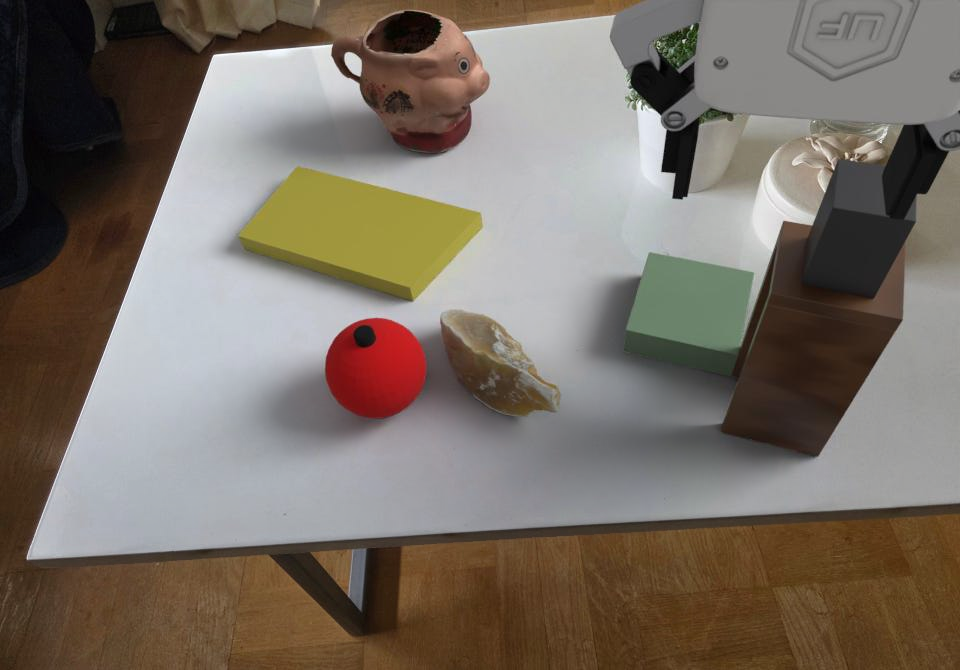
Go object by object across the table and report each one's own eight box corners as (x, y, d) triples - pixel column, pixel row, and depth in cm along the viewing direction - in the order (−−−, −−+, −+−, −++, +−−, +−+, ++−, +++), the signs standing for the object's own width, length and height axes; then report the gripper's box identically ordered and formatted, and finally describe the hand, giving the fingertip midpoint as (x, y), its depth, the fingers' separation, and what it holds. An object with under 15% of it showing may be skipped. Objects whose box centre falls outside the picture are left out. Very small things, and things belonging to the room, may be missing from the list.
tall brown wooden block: (825, 389, 65) (906, 241, 50) (818, 457, 61) (903, 319, 46) (732, 368, 67) (783, 220, 52) (720, 432, 63) (770, 293, 48)
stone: (455, 278, 68) (576, 363, 60) (477, 310, 73) (591, 392, 65) (404, 334, 67) (520, 429, 59) (430, 363, 72) (540, 453, 65)
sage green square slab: (746, 295, 72) (754, 272, 69) (731, 377, 67) (738, 355, 64) (645, 274, 75) (649, 251, 72) (622, 351, 69) (625, 329, 67)
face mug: (328, 153, 91) (296, 52, 80) (364, 93, 98) (339, -7, 86) (482, 172, 86) (470, 68, 75) (508, 108, 93) (501, 4, 82)
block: (877, 249, 50) (918, 170, 44) (874, 299, 47) (916, 221, 42) (807, 237, 51) (838, 158, 45) (800, 284, 48) (832, 207, 43)
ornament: (444, 362, 70) (429, 297, 62) (417, 444, 65) (397, 384, 57) (357, 349, 72) (332, 283, 64) (324, 427, 67) (292, 367, 59)
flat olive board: (244, 249, 82) (434, 307, 75) (237, 235, 80) (431, 293, 73) (302, 179, 88) (482, 227, 81) (297, 165, 86) (481, 212, 79)
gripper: (608, -189, 21) (593, 226, 35) (1324, -204, 18) (995, 267, 31) (638, -272, 26) (614, 127, 39) (1221, -299, 22) (970, 153, 36)
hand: (783, 189), depth 35 cm, fingers open, 9 cm apart
